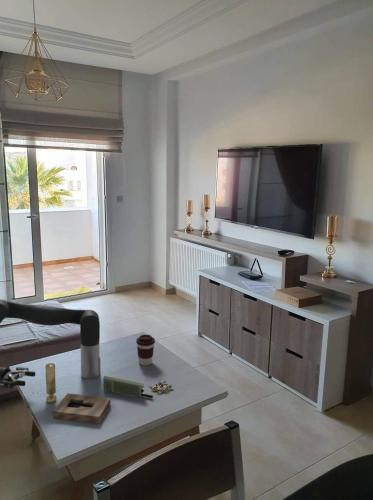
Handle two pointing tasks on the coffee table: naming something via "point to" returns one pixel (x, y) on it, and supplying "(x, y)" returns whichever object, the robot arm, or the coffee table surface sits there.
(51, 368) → the brass peg
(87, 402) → the keyhole plate
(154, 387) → the lily flower
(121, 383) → the handheld radio
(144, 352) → the coffee cup
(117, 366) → the coffee table surface
